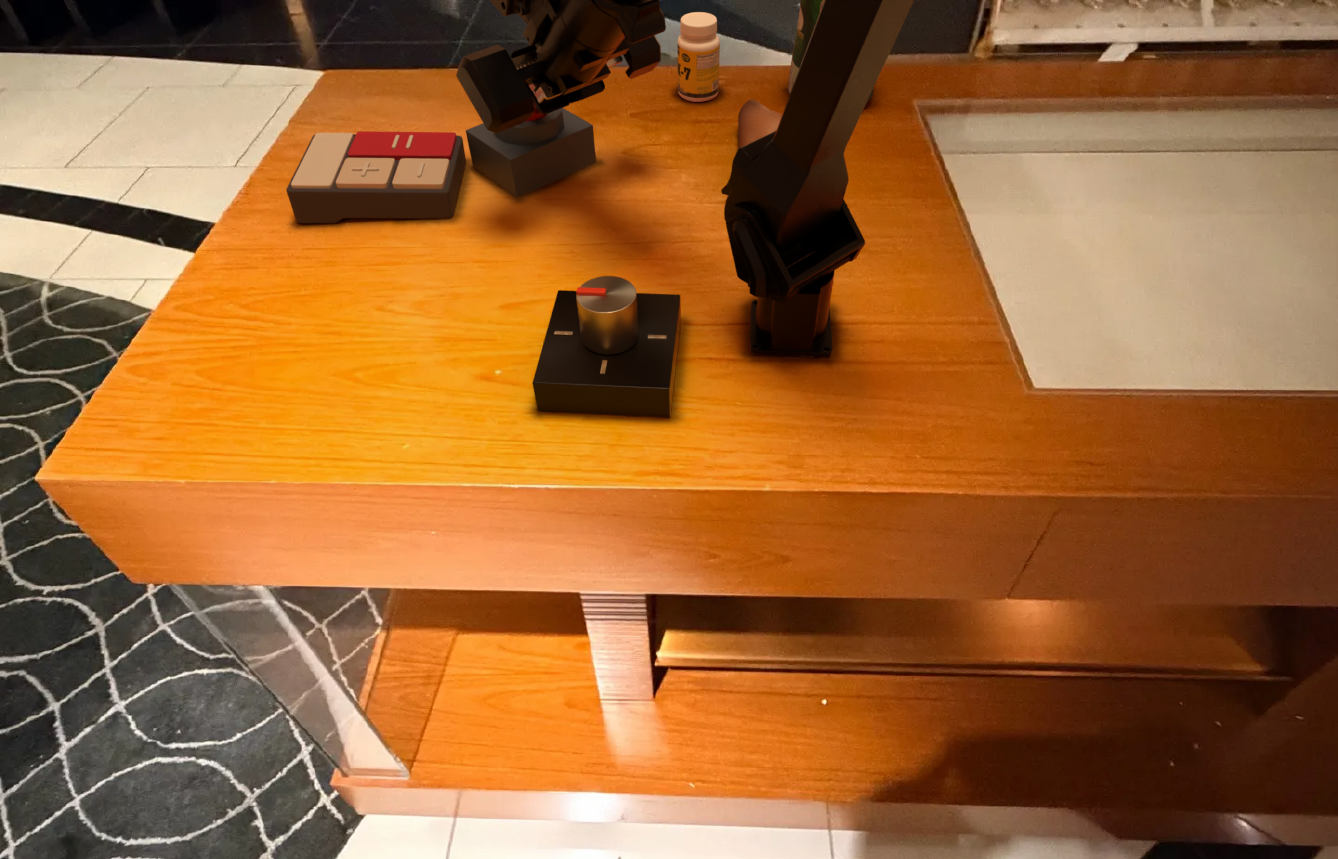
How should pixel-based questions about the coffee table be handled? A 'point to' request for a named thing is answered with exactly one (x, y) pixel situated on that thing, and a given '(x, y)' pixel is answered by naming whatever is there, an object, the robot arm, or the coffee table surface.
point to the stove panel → (610, 363)
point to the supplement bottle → (698, 57)
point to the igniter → (533, 151)
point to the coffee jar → (805, 36)
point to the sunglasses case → (756, 122)
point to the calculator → (378, 176)
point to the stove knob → (608, 314)
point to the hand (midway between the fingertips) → (535, 107)
